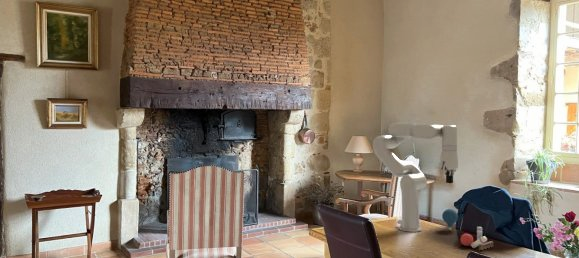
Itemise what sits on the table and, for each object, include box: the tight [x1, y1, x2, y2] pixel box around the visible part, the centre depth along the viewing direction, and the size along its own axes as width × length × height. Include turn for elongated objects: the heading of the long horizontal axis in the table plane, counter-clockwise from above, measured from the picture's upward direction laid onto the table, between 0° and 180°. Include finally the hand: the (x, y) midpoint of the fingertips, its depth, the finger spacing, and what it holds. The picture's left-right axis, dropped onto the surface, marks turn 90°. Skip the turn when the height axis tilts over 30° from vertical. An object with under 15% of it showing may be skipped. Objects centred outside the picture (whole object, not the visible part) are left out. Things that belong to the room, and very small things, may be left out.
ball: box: [460, 233, 475, 247], centre depth 222 cm, size 6×6×6 cm
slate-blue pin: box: [476, 226, 483, 245], centre depth 224 cm, size 2×2×8 cm
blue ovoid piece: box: [441, 208, 459, 231], centre depth 254 cm, size 8×8×12 cm
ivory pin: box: [470, 235, 488, 249], centre depth 215 cm, size 2×2×8 cm
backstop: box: [478, 240, 494, 251], centre depth 217 cm, size 1×11×2 cm, turn 127°
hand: (449, 182), depth 238 cm, fingers closed
